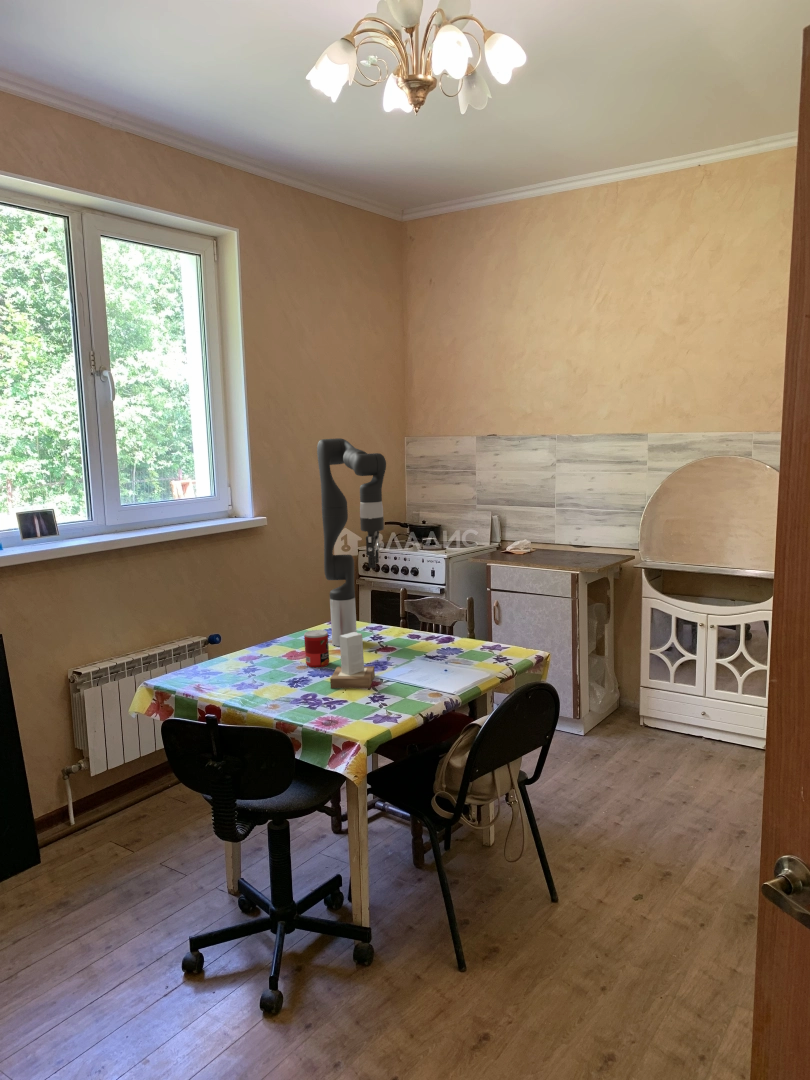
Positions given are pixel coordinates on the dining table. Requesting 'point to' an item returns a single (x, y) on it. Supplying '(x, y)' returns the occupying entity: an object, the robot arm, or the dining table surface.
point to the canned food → (316, 648)
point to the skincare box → (351, 653)
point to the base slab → (353, 678)
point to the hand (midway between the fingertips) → (373, 565)
